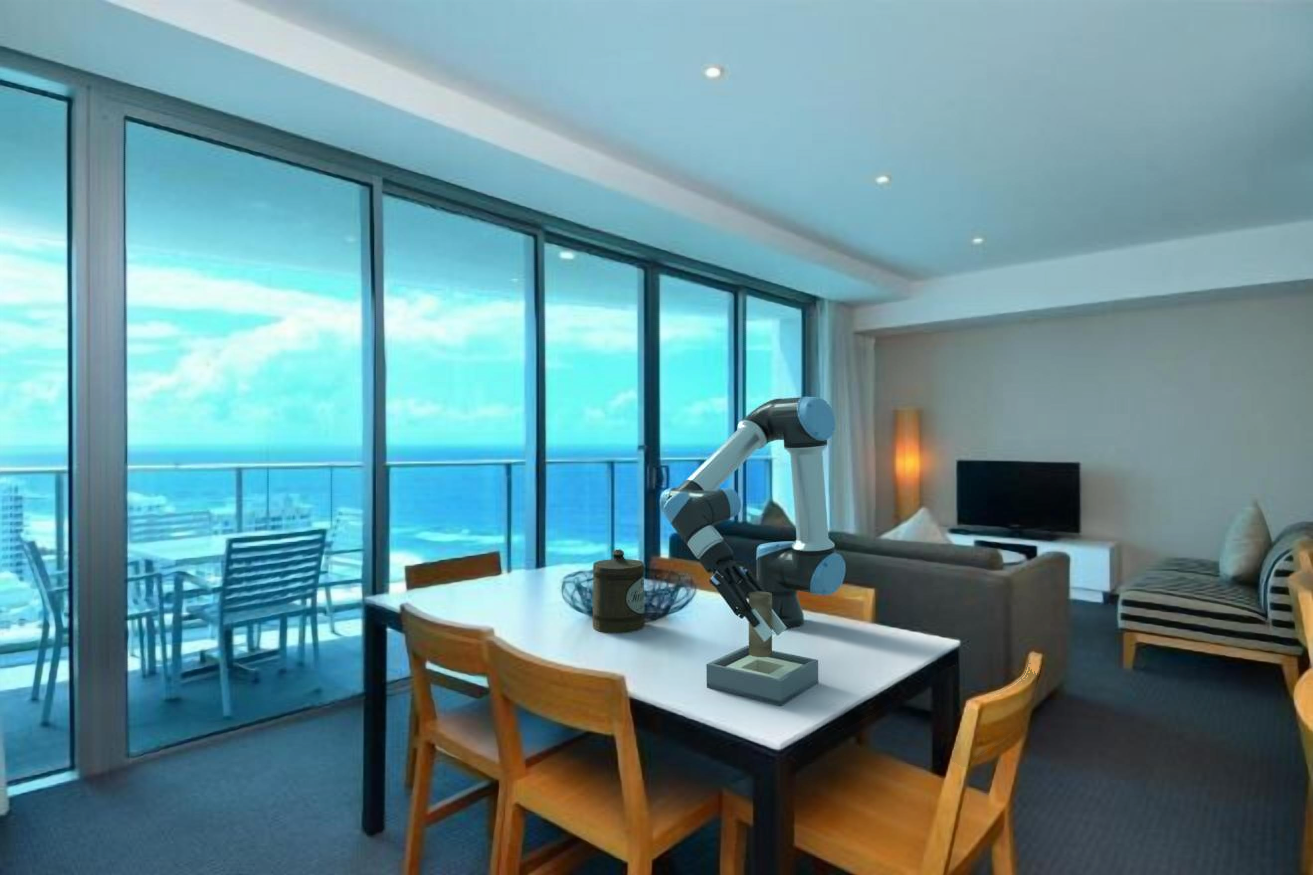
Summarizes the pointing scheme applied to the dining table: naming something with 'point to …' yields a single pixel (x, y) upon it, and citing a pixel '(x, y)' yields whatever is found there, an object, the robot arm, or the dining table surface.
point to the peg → (764, 608)
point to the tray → (760, 681)
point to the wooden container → (618, 594)
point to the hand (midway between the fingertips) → (775, 634)
